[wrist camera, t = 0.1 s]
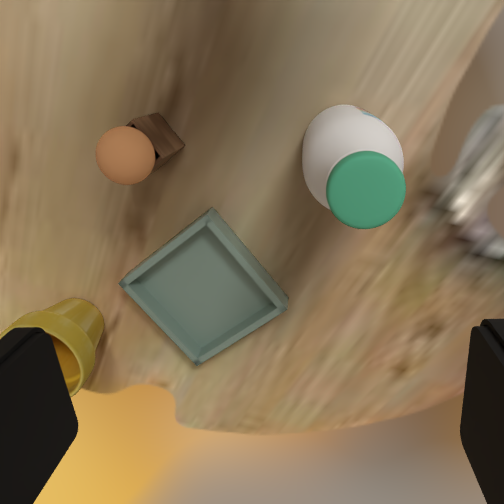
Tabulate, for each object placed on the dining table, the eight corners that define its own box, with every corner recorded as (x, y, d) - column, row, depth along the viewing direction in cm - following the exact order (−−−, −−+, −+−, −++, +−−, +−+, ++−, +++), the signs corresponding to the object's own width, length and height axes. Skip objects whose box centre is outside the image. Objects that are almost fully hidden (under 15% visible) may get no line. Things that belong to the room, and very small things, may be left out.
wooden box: (130, 138, 45) (102, 148, 39) (158, 112, 44) (133, 118, 38) (157, 169, 46) (133, 184, 40) (185, 145, 45) (164, 156, 39)
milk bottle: (306, 185, 45) (306, 259, 27) (299, 109, 42) (294, 135, 24) (381, 177, 44) (434, 249, 26) (379, 98, 41) (437, 117, 23)
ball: (99, 146, 40) (73, 155, 35) (136, 111, 38) (113, 116, 34) (136, 188, 41) (115, 202, 36) (173, 156, 39) (155, 166, 35)
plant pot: (118, 290, 53) (80, 333, 44) (120, 357, 57) (85, 410, 48) (39, 278, 54) (-15, 319, 45) (46, 346, 58) (-1, 395, 49)
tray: (127, 273, 52) (118, 283, 49) (212, 206, 47) (207, 214, 45) (202, 352, 55) (196, 366, 53) (288, 297, 51) (287, 309, 48)
